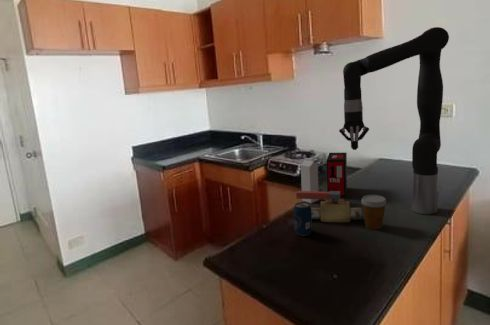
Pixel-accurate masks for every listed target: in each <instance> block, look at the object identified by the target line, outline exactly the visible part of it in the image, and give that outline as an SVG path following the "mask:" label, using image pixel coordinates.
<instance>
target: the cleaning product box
mask: <svg viewBox="0 0 490 325" xmlns="http://www.w3.org/2000/svg"><path fill="white" fill-rule="evenodd" d="M347 155H348V154H347V152H329V153H328V156H327V159H326V186H327V189H326V190H327V191H326V192H330V191H340V199H346V198H347V191H348V188H347V187H348V176H347V175H348V174H347V169H348V167H347V163H348V162H347V160H348V158H347Z"/></svg>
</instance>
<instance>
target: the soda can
mask: <svg viewBox="0 0 490 325" xmlns="http://www.w3.org/2000/svg"><path fill="white" fill-rule="evenodd" d="M294 204H295V205H294V208H293V224H294V225H293V226H294V232H295V234H297V235H299V236H300V237H301V236H302V237H305V236H309V235H310V234H311V233H312V231H313V221H312V220H313V219H312V214H311V208H312V207H311V206H310V204H311V203H309V202H306V201H301V202H297V203H294Z"/></svg>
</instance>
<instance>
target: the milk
mask: <svg viewBox="0 0 490 325" xmlns="http://www.w3.org/2000/svg"><path fill="white" fill-rule="evenodd" d="M303 160H304V161H302V163H300V178H301V179H300V180H301V191H320V190H319V165H318V163H316V162H315V161H314V158H309V157H304V159H303ZM301 200H302V201H301V202H306V203H309V204H312V203H313V204H314V203H315V202H318V201H320V199H301Z"/></svg>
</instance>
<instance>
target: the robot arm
mask: <svg viewBox="0 0 490 325" xmlns="http://www.w3.org/2000/svg"><path fill="white" fill-rule="evenodd" d="M449 35H450V34H449V32H448V31H447V30H446V29H445V28H443V27H438V26H436V27H430V28H429V29H427V30H425V31H423V33H422V34H420V35H419V36H416V37H414V38H412V39H411V40H408V41H405V42H403V43H400V44H398V45H395V46H392V47H388V48H385V49H382V50H380V51H377V52H374V53H372V54H369V55H367V56H365V57H364V58H360V59H357V60H355V61H350V62H348V63H346V65H344V67H343V70H342V72H343V74H342V75H343V84H344V85H343V86H344V87H343V88H344V89H343V99H344V100H343V101H344V103H343V113H344V114H343V116H344V118H343V119H344V122H343V123H344V124H343V126H342V128H340V129H339V131H338V132H339V133H340V134H341V135H342V136H343V138H344V139H346V140H347V141H348V142H350V148H351V149H352V150H353V151H357V149H359V141H360V140H362V139H364V138H365V136H366V134H367V133H368V132H369V131H370V127H368V126H367V125H365V123H364V119H363V118H364V117H363V111H364V110H363V109H364V108H363V101H362V100H363V99H362V87H361V86H362V84H361V81H362V80H361V79H362V76H365V75H367V74H370V73H375V72H377V71H380V70H382V69H385V68H386V69H387V68H388V67H391V66H394V65H395V64H398V63H400V62H403V61H404V60H407V59H410V58H414V57H417V56H419V57H418V58H419V59H418V60H419V70H418V78H417V79H418V81H417V89H416V90H417V91H416V92H417V93H416V106H417V107H416V108H417V112H418V117H419V122H420V124H419V134H418V138H417V139H416V140H415V141H414V142H413V145H412V153H411V154H412V157H411V160H412V164H411V165H412V169H413V171H412V173H413V174H412V192H411V193H412V195H411V198H412V199H411V210H412V212H414V213H416V214H421V215H432V214H438V209H439V208H438V206H439V204H438V203H439V191H438V190H437V189H438V178H439V176H438V175H439V167H438V164H437V163H438V152H439V151H440V149H441V146H442V143H441V142H442V141H441V128H440V127H441V126H440V125H441V116H442V109H443V101H444V100H443V98H444V97H443V96H444V81H443V75H442V72H441V56H442V55H441V54H442V50H443V49H444V48H446V46H447V45H448V43H449V40H450V36H449ZM361 131H362V132H361ZM345 132H347V133H348V134H349V136H348V135H347V133H345ZM359 133H360V135H359Z"/></svg>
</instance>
